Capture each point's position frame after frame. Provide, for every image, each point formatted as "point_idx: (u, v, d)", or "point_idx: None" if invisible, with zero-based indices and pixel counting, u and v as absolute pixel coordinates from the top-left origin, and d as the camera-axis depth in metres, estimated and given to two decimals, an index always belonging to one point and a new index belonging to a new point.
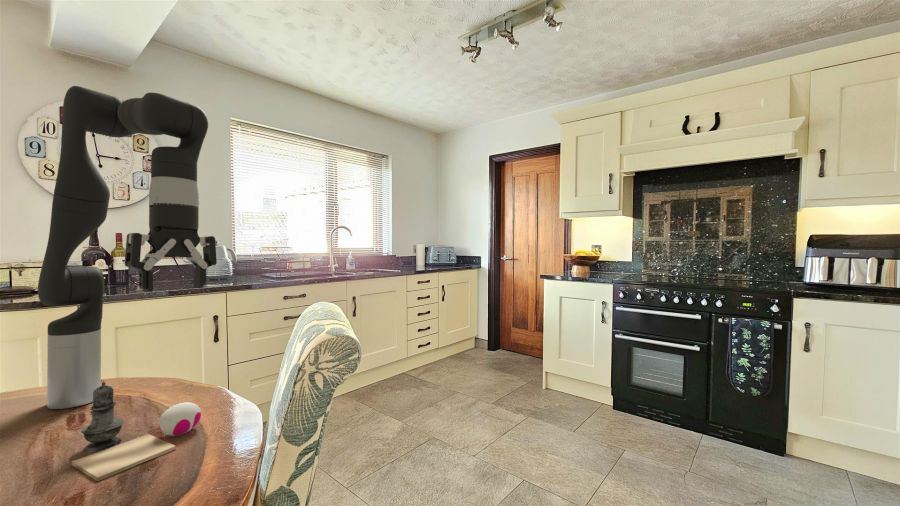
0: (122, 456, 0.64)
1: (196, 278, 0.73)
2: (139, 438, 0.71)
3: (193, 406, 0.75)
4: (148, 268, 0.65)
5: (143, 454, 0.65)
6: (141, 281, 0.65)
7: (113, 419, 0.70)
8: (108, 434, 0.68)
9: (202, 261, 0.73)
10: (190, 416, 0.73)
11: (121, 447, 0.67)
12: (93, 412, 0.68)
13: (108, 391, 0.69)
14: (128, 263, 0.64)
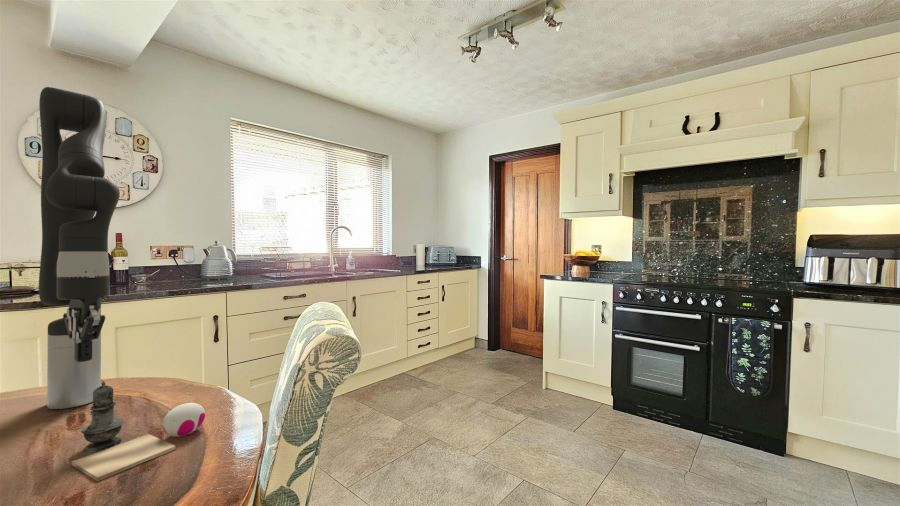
0: (122, 456, 0.64)
1: None
2: (139, 438, 0.71)
3: (197, 406, 0.75)
4: (93, 339, 0.75)
5: (143, 454, 0.65)
6: (88, 351, 0.73)
7: (113, 419, 0.70)
8: (108, 434, 0.68)
9: None
10: (194, 417, 0.73)
11: (121, 447, 0.67)
12: (93, 412, 0.68)
13: (108, 391, 0.69)
14: (90, 338, 0.73)
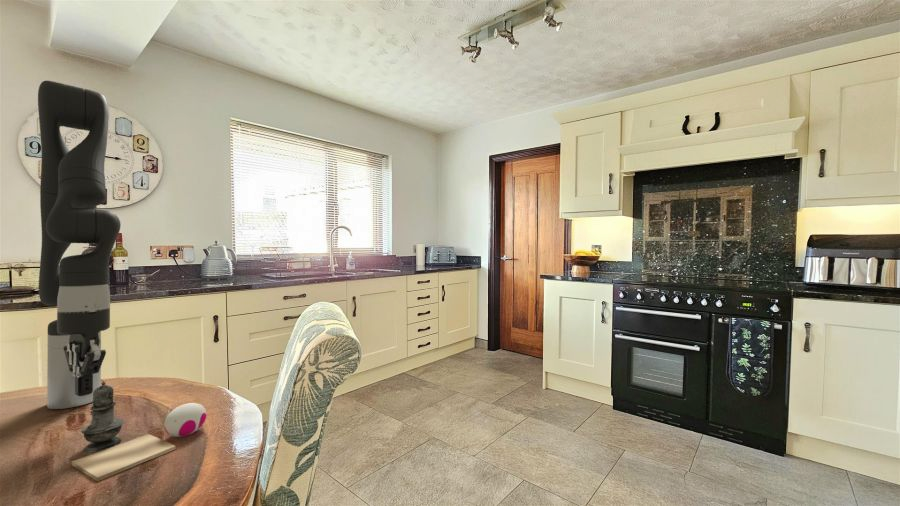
0: (122, 456, 0.64)
1: None
2: (139, 438, 0.71)
3: (198, 406, 0.75)
4: None
5: (143, 454, 0.65)
6: (88, 385, 0.73)
7: (113, 419, 0.70)
8: (108, 434, 0.68)
9: None
10: (195, 417, 0.73)
11: (121, 447, 0.67)
12: (93, 412, 0.68)
13: (108, 391, 0.69)
14: (90, 373, 0.72)
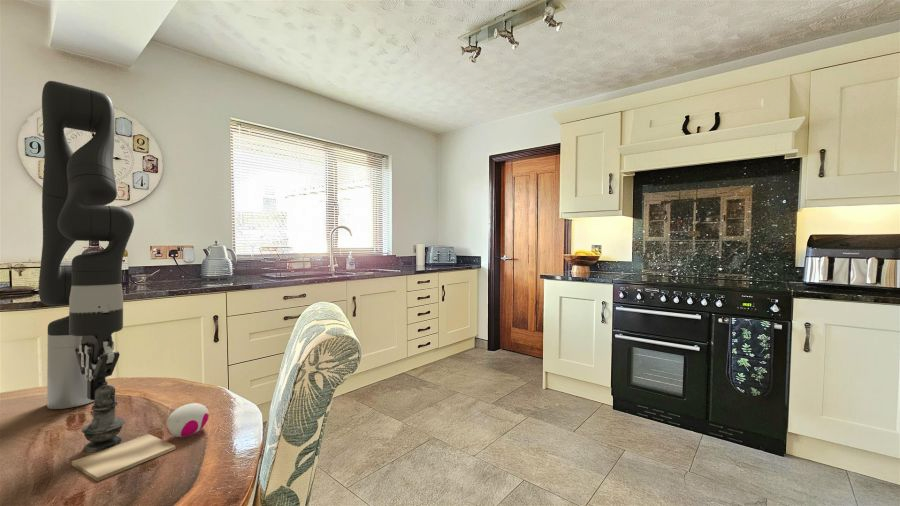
0: (122, 456, 0.64)
1: None
2: (139, 438, 0.71)
3: (200, 407, 0.75)
4: None
5: (143, 454, 0.65)
6: None
7: (114, 419, 0.70)
8: (108, 434, 0.68)
9: None
10: (198, 417, 0.73)
11: (121, 447, 0.67)
12: (94, 412, 0.68)
13: (110, 391, 0.69)
14: (103, 376, 0.69)
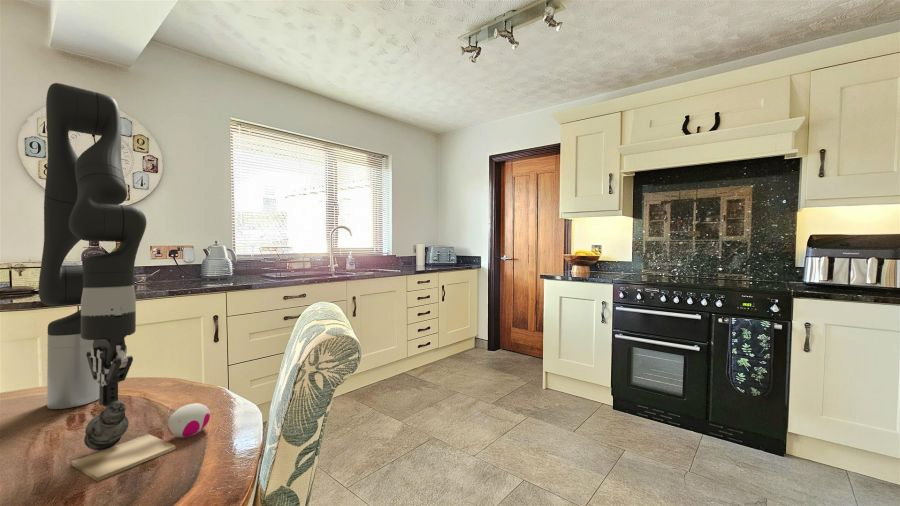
0: (122, 456, 0.64)
1: None
2: (139, 438, 0.71)
3: (202, 407, 0.75)
4: None
5: (143, 454, 0.65)
6: (114, 394, 0.68)
7: (119, 426, 0.68)
8: (111, 441, 0.67)
9: None
10: (199, 418, 0.73)
11: (121, 447, 0.67)
12: None
13: (120, 414, 0.65)
14: (116, 381, 0.67)
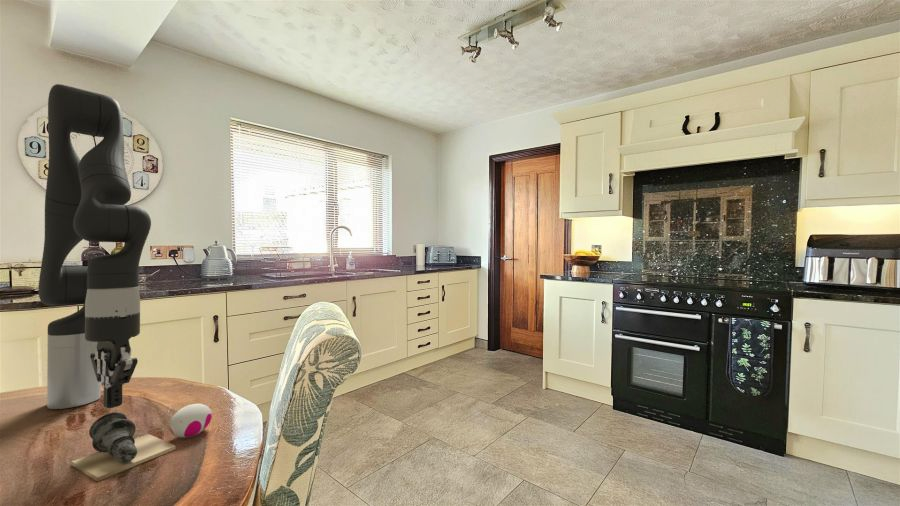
0: None
1: None
2: (139, 438, 0.71)
3: (203, 407, 0.75)
4: None
5: (143, 454, 0.65)
6: (118, 396, 0.67)
7: None
8: None
9: None
10: (201, 418, 0.73)
11: None
12: None
13: None
14: (121, 383, 0.66)
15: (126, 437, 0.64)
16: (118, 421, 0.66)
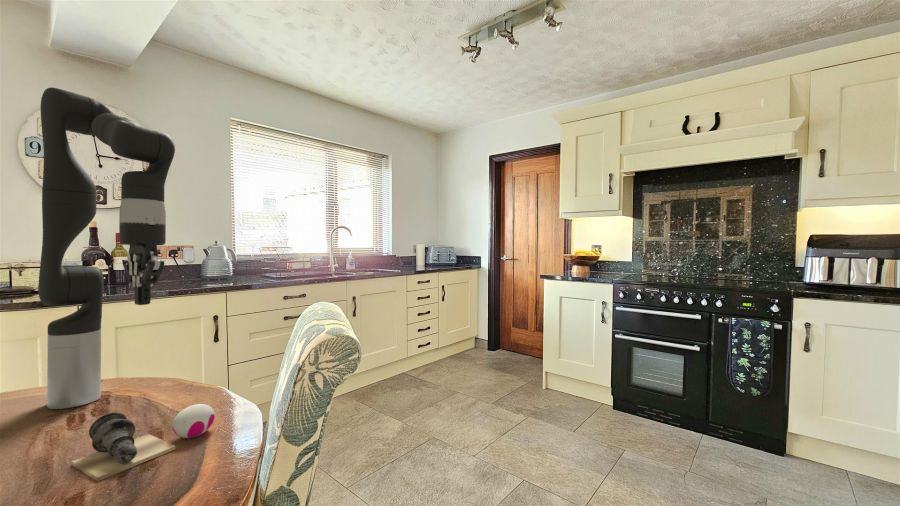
0: None
1: None
2: (139, 438, 0.71)
3: (206, 407, 0.75)
4: (151, 284, 0.78)
5: (143, 454, 0.65)
6: (147, 295, 0.77)
7: None
8: None
9: None
10: (204, 418, 0.73)
11: None
12: None
13: None
14: (150, 282, 0.76)
15: (126, 437, 0.64)
16: (117, 421, 0.66)
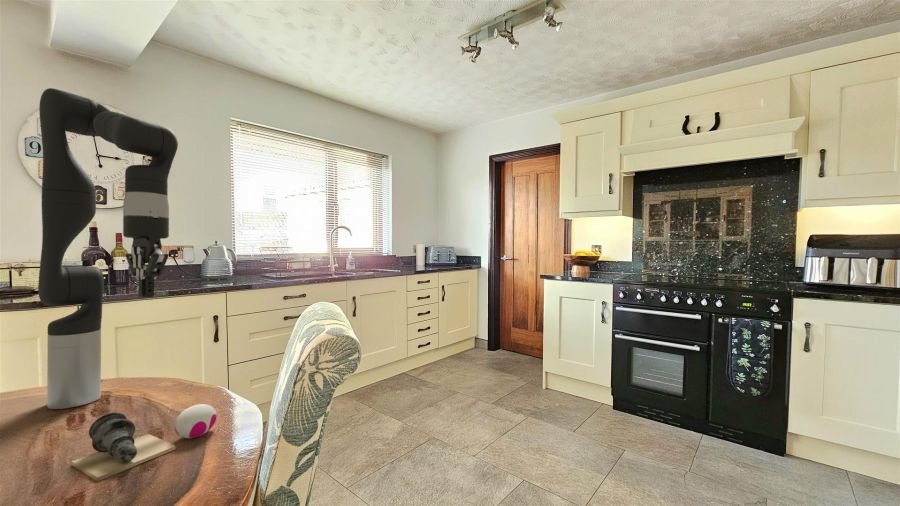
0: None
1: None
2: (139, 438, 0.71)
3: (208, 407, 0.74)
4: (155, 277, 0.79)
5: (143, 454, 0.65)
6: (151, 288, 0.78)
7: None
8: None
9: None
10: (206, 418, 0.72)
11: None
12: None
13: None
14: (154, 275, 0.77)
15: (126, 437, 0.64)
16: (117, 421, 0.66)
